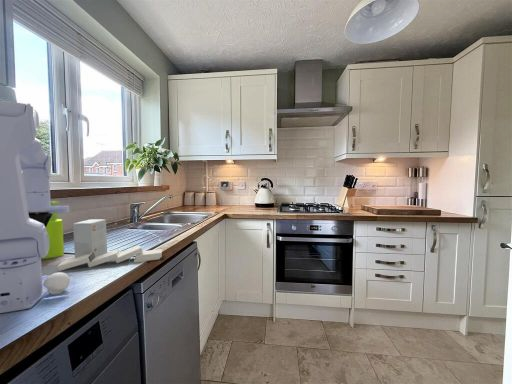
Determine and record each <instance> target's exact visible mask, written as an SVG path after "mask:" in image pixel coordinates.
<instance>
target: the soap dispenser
mask: <svg viewBox="0 0 512 384" xmlns="http://www.w3.org/2000/svg"><path fill="white" fill-rule="evenodd" d="M50 201H51V206H55V204H60V200H59V201H58V200H50ZM44 212H46V211H45V210H44ZM58 214H59V213H52V217H51V218H50V220H49V222H48V224H47V227H46V231H47V233H48V236H49V251H48V254H47V255H46V256H45V257H43V258H42V259H52V258H58V257H61V256H64V254H65V246H64V227H63V226H64V224H63V222H64V221H63V219H60V218H59V215H58Z"/></svg>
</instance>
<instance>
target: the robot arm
mask: <svg viewBox="0 0 512 384" xmlns="http://www.w3.org/2000/svg"><path fill="white" fill-rule="evenodd" d="M39 130H40V117H39V112H38V109H37V108H36V106H35V105H33V103H22V102H16V101H14V102H13V101H6V100H0V314H3V313H9V312H16V311H22V310H27V309H28V310H29V309H31V308H33V306H35V305H36V304H37V303H38V302H39V301H40V300H42V298H43V297H44V296H45V295H46V294H47V293H49V292H48V288H46V287H44V288H43V276H42V269H43V268H42V259H44V258H43V257H45V256H46V255H47V254H48V251H49V236H48V233H47V231H46V227H47V224H48V222H49V220H50V218H51V217H52V213H58V214H66V213H70V206H69V205H54V206H51V201H52V200H51V186H50V185H51V184H50V182H51V181H50V177H51V176H52V174H51V173H52V172H51V168H52V157H51V154H50V153H47V152H46V151H45V150H44V148H43V146H42V143H41V142H40V140H39V139H37V135H38V132H39ZM45 211H46V212H45Z"/></svg>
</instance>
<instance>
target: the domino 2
mask: <svg viewBox="0 0 512 384" xmlns="http://www.w3.org/2000/svg"><path fill="white" fill-rule="evenodd" d="M119 254H120V252H119V249H115V250H111V251H110V252H107V253H105V254H103V255H100V256H97V257H95V258H94V259H93V260H92V261H91V262H88V266H89V268H90V267H93V266H96V265H99V264H101V263H104V262H107V261H110V260H113V259H116V258H118V256H119Z"/></svg>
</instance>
